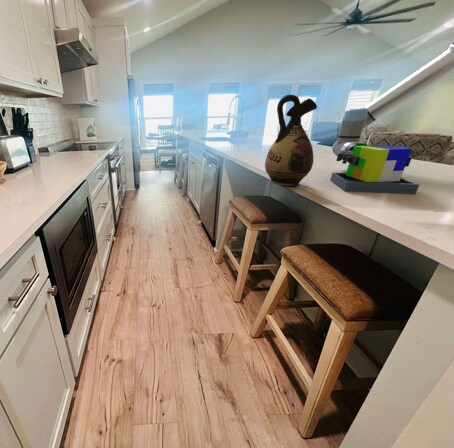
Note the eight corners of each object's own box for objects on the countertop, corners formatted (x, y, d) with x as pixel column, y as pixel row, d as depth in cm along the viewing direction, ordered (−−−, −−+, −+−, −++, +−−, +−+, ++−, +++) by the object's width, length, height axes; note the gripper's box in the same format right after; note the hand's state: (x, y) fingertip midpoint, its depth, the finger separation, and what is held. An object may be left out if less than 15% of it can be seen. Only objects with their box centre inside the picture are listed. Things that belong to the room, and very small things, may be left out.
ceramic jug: (296, 178, 97) (313, 94, 85) (316, 188, 83) (340, 90, 71) (253, 178, 99) (263, 96, 87) (265, 189, 85) (279, 93, 73)
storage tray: (390, 182, 86) (393, 173, 85) (415, 194, 74) (419, 184, 73) (330, 180, 92) (332, 172, 91) (344, 191, 79) (346, 182, 78)
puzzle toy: (399, 181, 77) (412, 148, 73) (367, 182, 77) (378, 150, 73) (374, 174, 86) (384, 144, 82) (345, 175, 86) (354, 146, 82)
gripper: (390, 162, 93) (427, 174, 74) (316, 161, 100) (333, 172, 82) (397, 141, 89) (437, 149, 71) (321, 142, 97) (339, 149, 78)
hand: (382, 161), depth 76 cm, fingers closed on puzzle toy, 12 cm apart
